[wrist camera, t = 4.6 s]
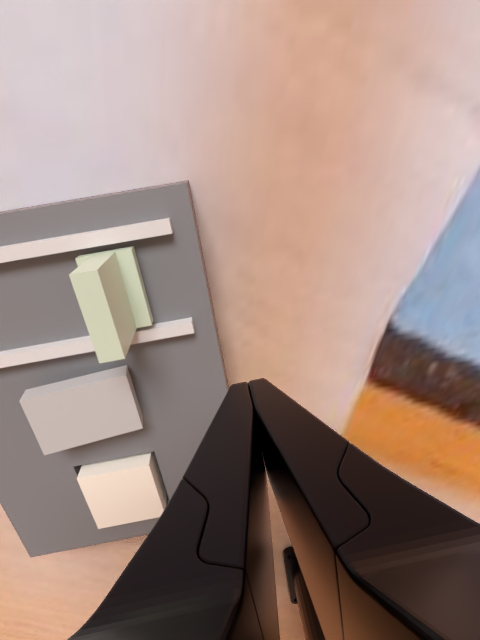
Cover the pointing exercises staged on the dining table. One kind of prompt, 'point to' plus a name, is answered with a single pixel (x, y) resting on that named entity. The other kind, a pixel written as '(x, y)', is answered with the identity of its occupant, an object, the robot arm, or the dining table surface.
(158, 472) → the push button
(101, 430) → the pale grey slab
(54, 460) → the console
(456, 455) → the dining table surface
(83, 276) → the slide paddle
